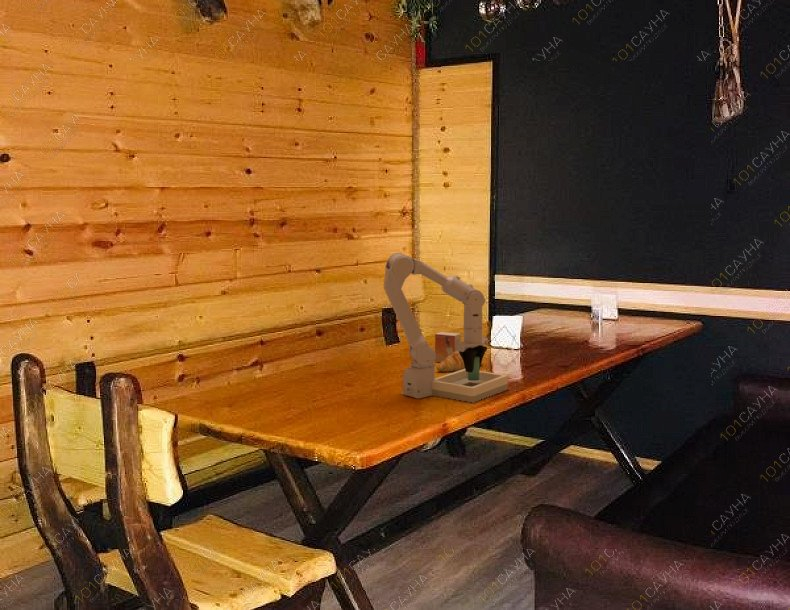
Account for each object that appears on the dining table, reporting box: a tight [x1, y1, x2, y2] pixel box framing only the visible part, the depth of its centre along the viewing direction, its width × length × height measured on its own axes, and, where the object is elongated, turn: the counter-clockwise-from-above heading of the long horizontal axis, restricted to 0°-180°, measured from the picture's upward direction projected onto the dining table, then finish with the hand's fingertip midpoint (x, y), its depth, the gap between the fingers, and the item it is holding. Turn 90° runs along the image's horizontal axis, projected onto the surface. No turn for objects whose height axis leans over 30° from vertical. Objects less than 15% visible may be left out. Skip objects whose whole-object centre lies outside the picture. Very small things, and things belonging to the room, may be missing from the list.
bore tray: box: [432, 369, 509, 404], centre depth 255 cm, size 20×16×4 cm
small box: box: [434, 331, 462, 363], centre depth 298 cm, size 8×6×10 cm
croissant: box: [436, 351, 465, 373], centre depth 287 cm, size 21×10×8 cm, turn 130°
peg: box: [468, 356, 480, 381], centre depth 255 cm, size 4×4×7 cm
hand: (472, 370), depth 256 cm, fingers closed on peg, 4 cm apart
